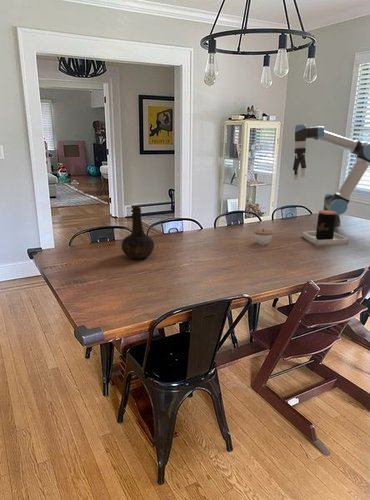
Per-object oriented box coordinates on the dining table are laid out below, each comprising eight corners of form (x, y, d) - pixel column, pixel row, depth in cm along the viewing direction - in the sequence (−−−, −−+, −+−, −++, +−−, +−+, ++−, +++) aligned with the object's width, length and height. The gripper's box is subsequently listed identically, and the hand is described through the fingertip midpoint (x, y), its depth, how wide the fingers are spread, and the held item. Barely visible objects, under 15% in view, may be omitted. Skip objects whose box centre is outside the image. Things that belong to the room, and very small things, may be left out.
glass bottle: (147, 250, 219) (146, 203, 210) (159, 259, 203) (158, 208, 195) (118, 254, 211) (115, 205, 203) (127, 263, 196) (125, 211, 187)
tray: (330, 235, 253) (331, 230, 252) (348, 244, 233) (349, 239, 232) (301, 236, 250) (302, 231, 249) (316, 245, 230) (317, 240, 229)
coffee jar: (311, 237, 244) (314, 210, 238) (324, 236, 248) (327, 209, 243) (324, 242, 234) (327, 213, 229) (336, 240, 239) (340, 212, 233)
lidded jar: (266, 246, 227) (267, 231, 224) (250, 243, 233) (251, 229, 231) (274, 243, 235) (275, 228, 233) (258, 240, 242) (259, 226, 239)
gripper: (300, 147, 273) (300, 176, 279) (288, 148, 254) (287, 180, 259) (311, 146, 269) (310, 176, 274) (299, 148, 249) (298, 180, 255)
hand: (299, 178), depth 267 cm, fingers open, 13 cm apart
